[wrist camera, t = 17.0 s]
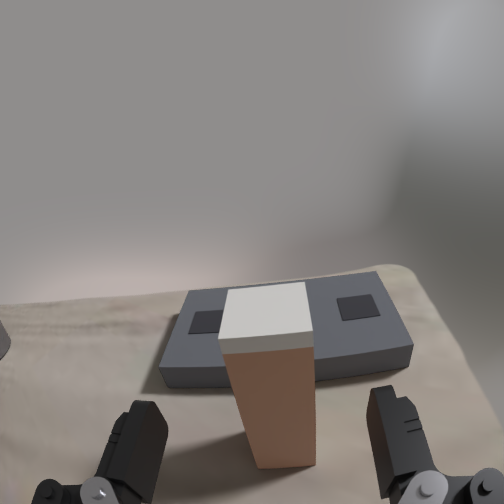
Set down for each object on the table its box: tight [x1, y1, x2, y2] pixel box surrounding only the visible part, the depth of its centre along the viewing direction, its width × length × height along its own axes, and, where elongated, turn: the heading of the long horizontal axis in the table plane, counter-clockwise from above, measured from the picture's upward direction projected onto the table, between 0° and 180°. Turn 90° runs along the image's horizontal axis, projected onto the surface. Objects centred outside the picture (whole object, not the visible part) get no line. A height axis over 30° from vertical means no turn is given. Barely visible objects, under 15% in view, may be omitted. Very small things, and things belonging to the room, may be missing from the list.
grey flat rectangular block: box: [159, 271, 414, 388], centre depth 34 cm, size 24×14×3 cm, turn 87°
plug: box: [218, 282, 316, 469], centre depth 19 cm, size 4×4×14 cm
